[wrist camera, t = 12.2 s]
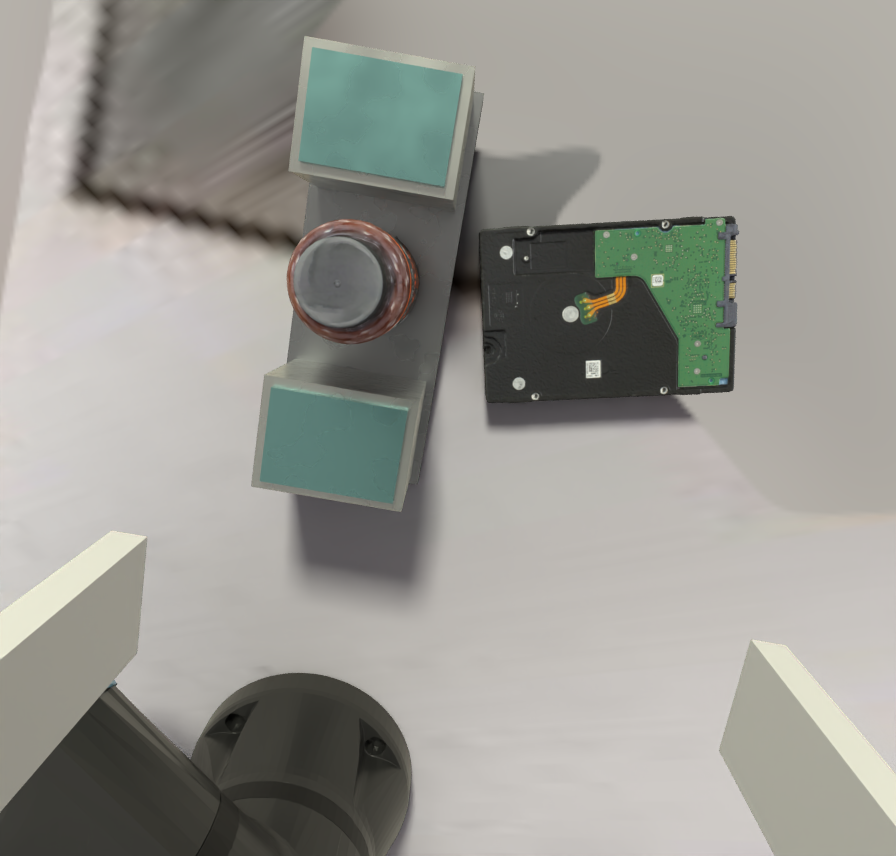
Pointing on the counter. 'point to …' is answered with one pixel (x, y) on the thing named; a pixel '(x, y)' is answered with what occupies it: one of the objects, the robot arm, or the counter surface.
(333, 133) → the rail
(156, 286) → the counter surface
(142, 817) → the robot arm
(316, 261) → the supplement bottle
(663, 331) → the disk drive
